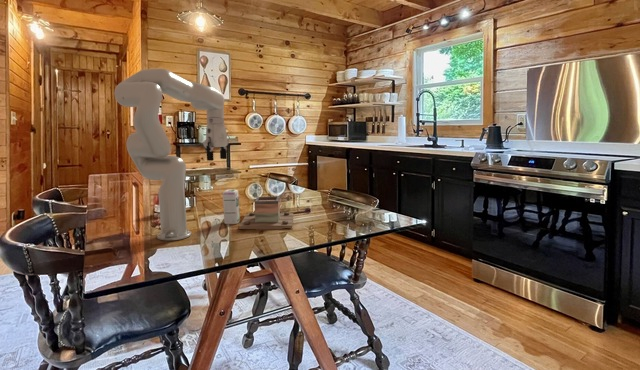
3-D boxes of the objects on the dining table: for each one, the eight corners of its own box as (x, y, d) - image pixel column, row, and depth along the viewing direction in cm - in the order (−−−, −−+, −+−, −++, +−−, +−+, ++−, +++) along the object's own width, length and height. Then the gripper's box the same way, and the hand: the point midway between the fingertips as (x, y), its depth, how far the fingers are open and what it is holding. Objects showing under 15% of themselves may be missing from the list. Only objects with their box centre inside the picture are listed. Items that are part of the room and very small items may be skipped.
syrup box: (237, 224, 173) (235, 191, 170) (223, 224, 173) (222, 191, 170) (240, 220, 178) (238, 189, 176) (227, 220, 178) (225, 189, 176)
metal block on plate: (292, 228, 165) (291, 203, 163) (239, 229, 164) (238, 204, 162) (293, 216, 187) (293, 193, 185) (246, 216, 186) (245, 194, 184)
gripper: (210, 121, 168) (211, 161, 171) (233, 122, 184) (234, 158, 187) (196, 121, 171) (197, 161, 174) (220, 122, 187) (221, 158, 190)
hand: (217, 159), depth 180 cm, fingers open, 9 cm apart
